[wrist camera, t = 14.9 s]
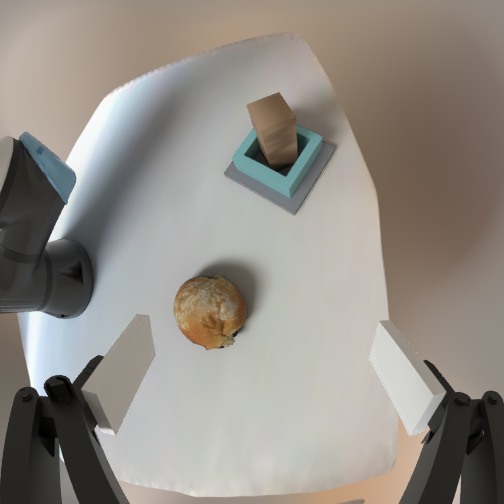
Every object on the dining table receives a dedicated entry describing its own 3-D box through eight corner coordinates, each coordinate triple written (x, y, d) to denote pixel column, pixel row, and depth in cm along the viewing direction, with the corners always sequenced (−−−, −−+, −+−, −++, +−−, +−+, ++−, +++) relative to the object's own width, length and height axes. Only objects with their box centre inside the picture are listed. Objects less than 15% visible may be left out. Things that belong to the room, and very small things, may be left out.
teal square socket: (225, 176, 40) (215, 162, 36) (267, 117, 40) (263, 99, 36) (294, 215, 38) (293, 205, 33) (334, 150, 38) (338, 134, 33)
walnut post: (272, 173, 38) (260, 130, 26) (261, 151, 39) (246, 105, 27) (297, 162, 38) (295, 117, 26) (286, 141, 38) (279, 92, 27)
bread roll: (250, 285, 42) (237, 258, 35) (251, 351, 36) (237, 337, 30) (189, 290, 43) (167, 266, 37) (185, 353, 38) (159, 339, 31)
